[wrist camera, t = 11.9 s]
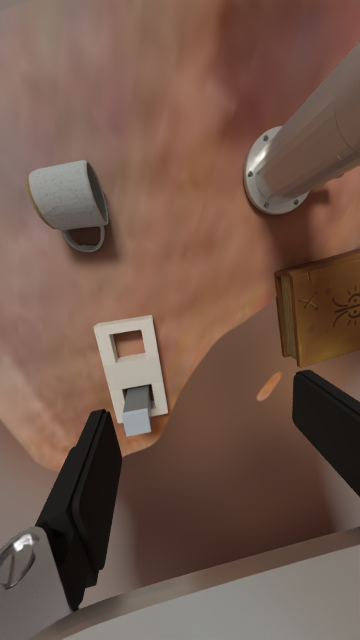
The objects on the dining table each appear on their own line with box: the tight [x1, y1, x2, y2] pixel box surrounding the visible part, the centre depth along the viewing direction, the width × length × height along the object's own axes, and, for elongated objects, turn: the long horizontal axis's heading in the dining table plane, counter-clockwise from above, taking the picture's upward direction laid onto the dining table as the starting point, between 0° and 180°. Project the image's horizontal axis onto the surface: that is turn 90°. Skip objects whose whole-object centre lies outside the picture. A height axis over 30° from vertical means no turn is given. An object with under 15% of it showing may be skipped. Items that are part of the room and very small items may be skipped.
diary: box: [274, 249, 360, 368], centre depth 39 cm, size 23×19×6 cm
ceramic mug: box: [26, 160, 108, 252], centre depth 27 cm, size 11×8×8 cm
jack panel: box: [94, 315, 168, 423], centre depth 37 cm, size 10×20×2 cm, turn 7°
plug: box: [122, 384, 151, 436], centre depth 36 cm, size 4×4×9 cm
